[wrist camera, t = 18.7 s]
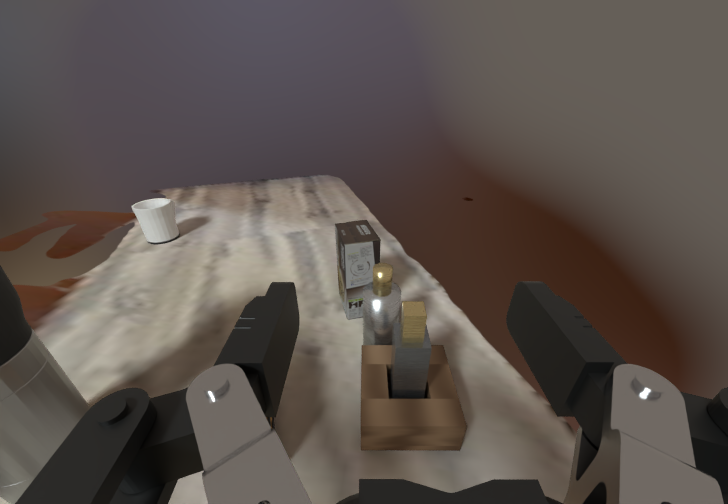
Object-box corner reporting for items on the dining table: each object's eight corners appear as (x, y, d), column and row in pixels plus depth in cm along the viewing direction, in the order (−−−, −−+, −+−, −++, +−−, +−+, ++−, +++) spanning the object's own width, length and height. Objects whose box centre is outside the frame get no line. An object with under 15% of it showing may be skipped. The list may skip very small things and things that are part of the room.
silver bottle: (363, 362, 48) (362, 279, 40) (363, 336, 53) (363, 258, 45) (398, 362, 48) (404, 279, 40) (395, 336, 53) (400, 257, 45)
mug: (162, 247, 81) (148, 211, 76) (138, 242, 84) (123, 207, 79) (194, 230, 90) (183, 197, 85) (171, 226, 93) (160, 194, 88)
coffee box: (379, 314, 58) (381, 239, 50) (346, 320, 56) (343, 244, 48) (367, 287, 65) (367, 218, 57) (338, 291, 64) (334, 222, 56)
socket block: (361, 450, 37) (360, 426, 34) (362, 368, 47) (361, 345, 44) (460, 450, 36) (466, 426, 34) (438, 368, 47) (442, 345, 44)
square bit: (391, 412, 40) (397, 320, 32) (389, 385, 43) (394, 297, 35) (421, 413, 39) (435, 321, 32) (417, 386, 43) (429, 297, 35)
